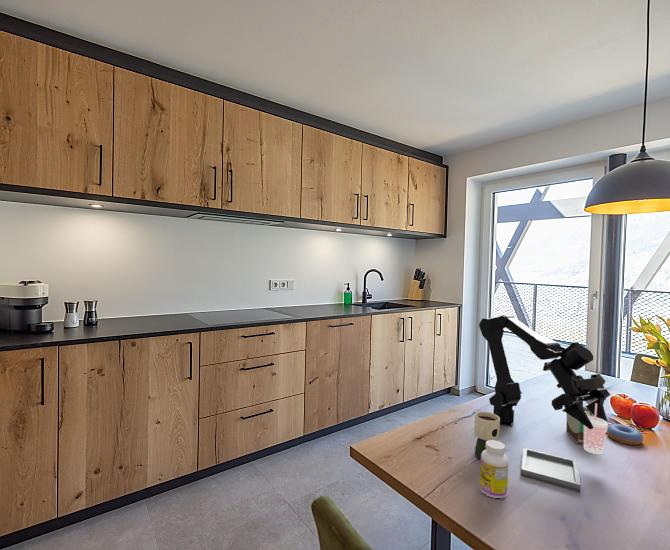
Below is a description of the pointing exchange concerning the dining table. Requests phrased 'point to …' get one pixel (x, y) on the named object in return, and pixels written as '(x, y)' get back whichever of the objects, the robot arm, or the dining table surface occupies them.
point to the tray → (550, 469)
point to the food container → (576, 427)
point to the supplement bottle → (494, 470)
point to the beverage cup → (595, 434)
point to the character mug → (485, 430)
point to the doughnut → (624, 434)
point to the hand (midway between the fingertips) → (599, 427)
